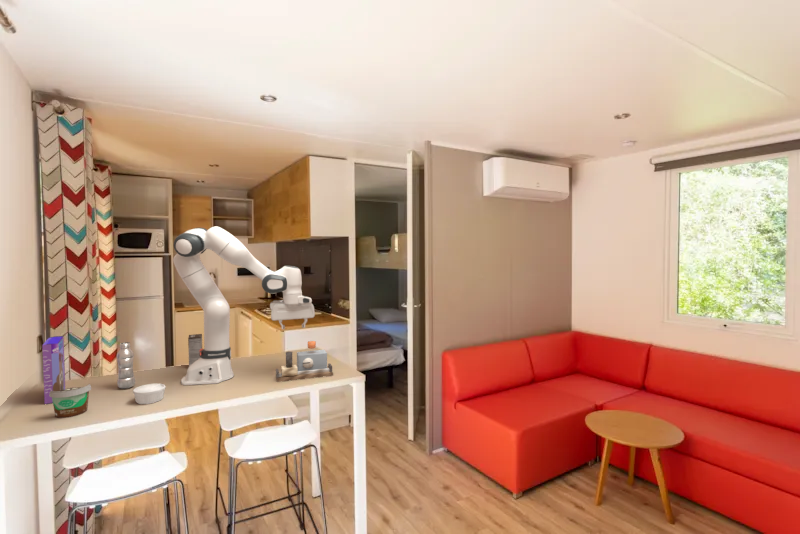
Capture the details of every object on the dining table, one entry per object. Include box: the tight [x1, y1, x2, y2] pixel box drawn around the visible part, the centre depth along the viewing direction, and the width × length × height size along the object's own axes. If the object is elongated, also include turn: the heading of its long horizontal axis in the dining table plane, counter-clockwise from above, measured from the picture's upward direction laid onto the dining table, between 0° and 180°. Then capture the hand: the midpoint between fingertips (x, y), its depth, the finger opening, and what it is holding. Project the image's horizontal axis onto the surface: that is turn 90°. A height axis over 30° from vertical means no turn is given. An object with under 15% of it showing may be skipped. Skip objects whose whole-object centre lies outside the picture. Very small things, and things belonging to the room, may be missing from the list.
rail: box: [275, 363, 334, 383], centre depth 196 cm, size 26×7×4 cm, turn 111°
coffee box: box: [187, 333, 203, 367], centre depth 214 cm, size 9×6×16 cm
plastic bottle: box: [116, 341, 136, 389], centre depth 180 cm, size 6×7×20 cm
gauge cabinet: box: [296, 349, 328, 371], centre depth 206 cm, size 14×9×9 cm, turn 111°
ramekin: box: [132, 383, 166, 405], centre depth 165 cm, size 11×11×5 cm
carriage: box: [280, 351, 298, 377], centre depth 193 cm, size 7×6×11 cm
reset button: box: [307, 340, 317, 350], centre depth 206 cm, size 4×4×3 cm
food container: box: [49, 383, 92, 419], centre depth 150 cm, size 12×6×10 cm, turn 126°
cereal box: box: [42, 335, 66, 405], centre depth 169 cm, size 17×5×24 cm, turn 34°
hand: (293, 328), depth 194 cm, fingers open, 8 cm apart
